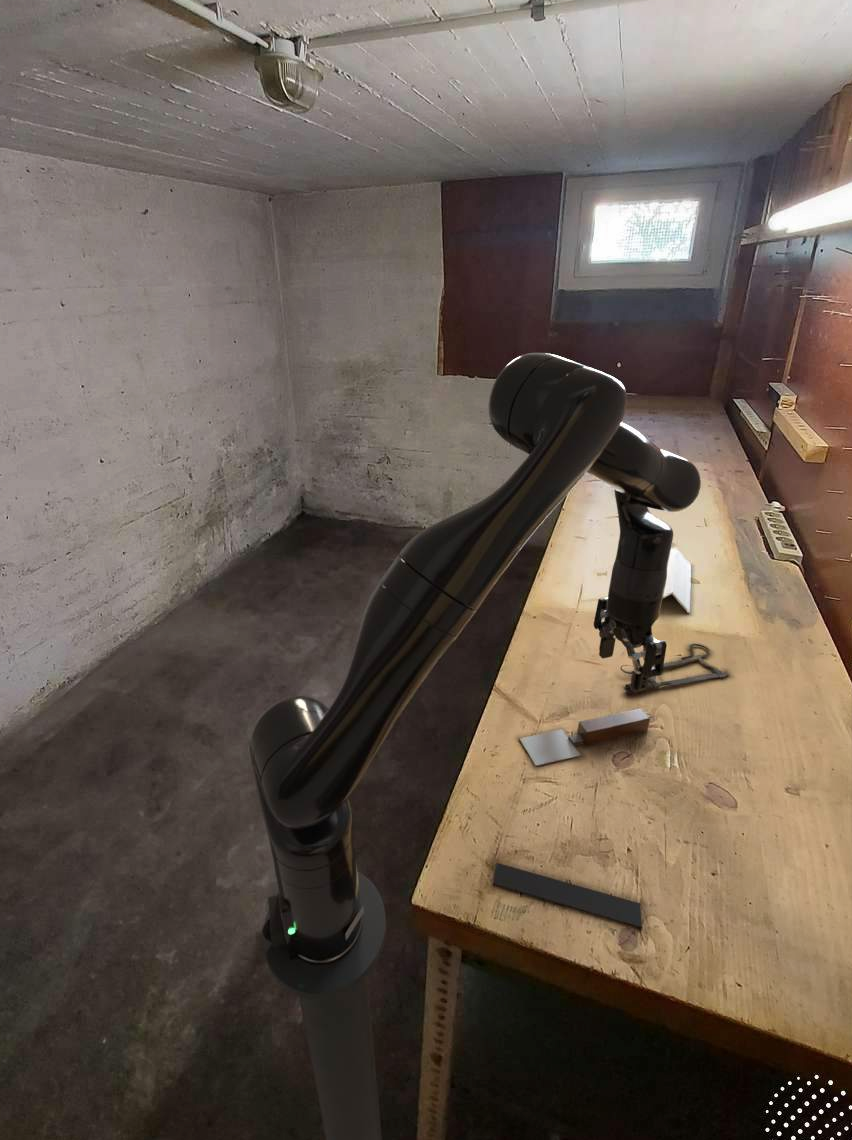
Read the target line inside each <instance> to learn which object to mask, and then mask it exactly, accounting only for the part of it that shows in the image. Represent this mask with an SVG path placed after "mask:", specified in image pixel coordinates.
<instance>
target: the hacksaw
mask: <svg viewBox="0 0 852 1140" xmlns="http://www.w3.org/2000/svg"><path fill="white" fill-rule="evenodd" d="M693 646H694V647H695V646H696V647H700V648H703V649H706V651H707V652H706V653H705V654H702V655H700V654H699V655H696V656H694V652H693V651H694V650H693ZM689 651H690V654H689V655H688V656H682V657H681V658H680V660H674V661H670V662H664V665H663V670H664V669H668V668H673V667H674V668H675V667H679V666H684V665H687V664H691V663H695V662H698V663H699V664H701V665H702V666H703V667H706V668H707V669H709V670H710V672H712V673H707V674H702V675H701V674H700V675H695V676H689V677H684V678H683V677H682V678H678V679H672V680H667V681H660V682H657V681H656V680H655V676H654V677H650V678H648V682H647V688H646V689H644V690H641V691H636V692H633V691H632V690H631V688H630V685H631V683H626V684H625V686H622V688H623V690H625V692H627V693H628V694H630V695H635V693H639V692H644V691H649V690H650V691H651V690H656V689H659V688H661V687H669V686H676V685H680V684H686V683H687V684H688V683H692V682H699V681H702V680H708V679H715V678H726V676H730V675H731V674H730V673H728V671H726V670H724V671H722V670H720V669H718V668H717V667H715V666H713V665H711V664H709V663H707V662H705V661H704V658H705V659H706V658H707V656H709V655H710V649H709V648H708V646H705V645H703V644H700V643H691V644H690V645H689ZM626 666H627V667H632V668H634V666H633V665H630V664H623V665H621V666H620V668H619V669H620V671H622V672H623V673H625V674H629V675H633V671H634V669H633V670H631V671H626V670H625V669H623V667H626ZM654 666H655V665H653V667H654Z"/></svg>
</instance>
